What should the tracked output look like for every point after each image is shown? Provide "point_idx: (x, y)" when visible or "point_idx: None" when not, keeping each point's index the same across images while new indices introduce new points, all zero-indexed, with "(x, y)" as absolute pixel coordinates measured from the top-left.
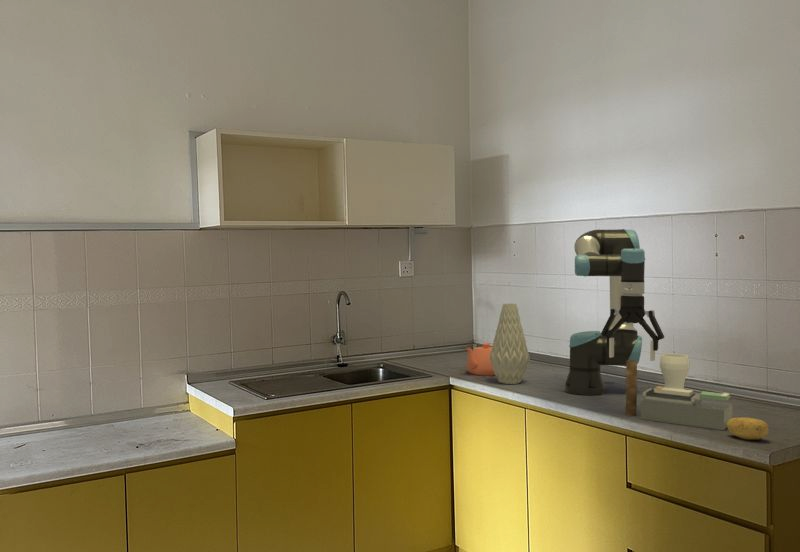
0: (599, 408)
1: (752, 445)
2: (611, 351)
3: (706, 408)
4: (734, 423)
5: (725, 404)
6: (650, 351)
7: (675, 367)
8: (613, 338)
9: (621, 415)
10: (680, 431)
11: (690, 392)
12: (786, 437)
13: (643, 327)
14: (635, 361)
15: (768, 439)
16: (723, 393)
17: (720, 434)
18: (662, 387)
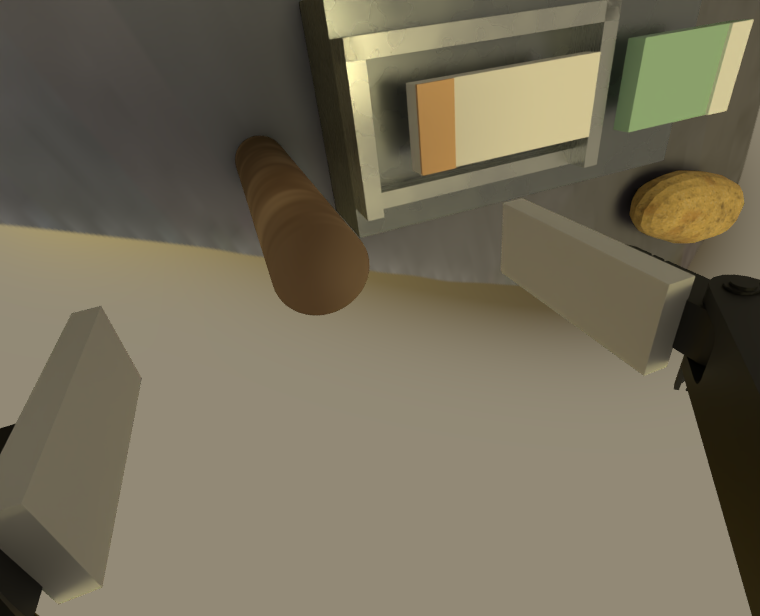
0: (36, 142)
1: (658, 253)
2: (132, 422)
3: (611, 168)
4: (664, 237)
5: (682, 7)
6: (555, 310)
7: None
8: (48, 515)
9: (237, 206)
10: (498, 263)
11: (589, 115)
12: (750, 92)
13: (749, 573)
14: (355, 259)
15: (701, 159)
16: (728, 43)
17: (596, 206)
18: (452, 113)
